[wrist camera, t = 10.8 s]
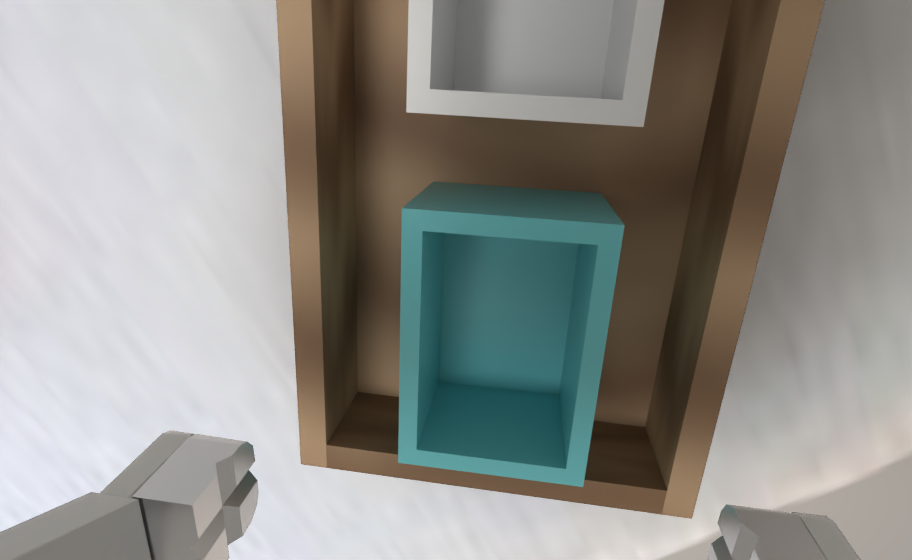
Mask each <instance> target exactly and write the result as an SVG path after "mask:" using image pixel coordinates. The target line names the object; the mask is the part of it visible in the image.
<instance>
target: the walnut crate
mask: <svg viewBox="0 0 912 560" xmlns="http://www.w3.org/2000/svg"><path fill="white" fill-rule="evenodd" d="M824 1H825V0H665V1H664V7H663V13H662V19H661V25H660V31H659V37H658V43H657V49H656V55H655V61H654V67H653V73H652V79H651V85H650V91H649V97H648V103H647V109H646V115H645V121H644V127H635V126H619V125H602V124H586V123H570V122H554V121H538V120H522V119H505V118H489V117H473V116H457V115H441V114H425V113H408V112H406V101H407V54H408V8H409V0H276V3H277V22H278V41H279V60H280V79H281V98H282V117H283V135H284V154H285V173H286V192H287V211H288V230H289V249H290V267H291V286H292V305H293V324H294V343H295V362H296V381H297V399H298V418H299V437H300V456H301V464H304V465H311V466H318V467H325V468H333V469H340V470H347V471H354V472H361V473H368V474H376V475H383V476H390V477H397V478H404V479H411V480H419V481H426V482H433V483H440V484H447V485H455V486H462V487H469V488H476V489H483V490H490V491H498V492H505V493H512V494H519V495H526V496H533V497H541V498H548V499H555V500H562V501H569V502H577V503H584V504H591V505H598V506H605V507H612V508H620V509H627V510H634V511H641V512H648V513H656V514H663V515H670V516H677V517H684V518H691V519H692V516H693V512H694V508H695V504H696V500H697V497H698V493H699V489H700V485H701V481H702V477H703V473H704V469H705V465H706V461H707V458H708V454H709V450H710V446H711V442H712V438H713V434H714V430H715V426H716V422H717V419H718V415H719V411H720V407H721V403H722V399H723V395H724V391H725V387H726V383H727V380H728V376H729V372H730V368H731V364H732V360H733V356H734V352H735V348H736V344H737V341H738V337H739V333H740V329H741V325H742V321H743V317H744V313H745V309H746V305H747V302H748V298H749V294H750V290H751V286H752V282H753V278H754V274H755V270H756V266H757V263H758V259H759V255H760V251H761V247H762V243H763V239H764V235H765V231H766V227H767V223H768V220H769V216H770V212H771V208H772V204H773V200H774V196H775V192H776V188H777V184H778V181H779V177H780V173H781V169H782V165H783V161H784V157H785V153H786V149H787V145H788V142H789V138H790V134H791V130H792V126H793V122H794V118H795V114H796V110H797V106H798V103H799V99H800V95H801V91H802V87H803V83H804V79H805V75H806V71H807V67H808V64H809V60H810V56H811V52H812V48H813V44H814V40H815V36H816V32H817V28H818V25H819V21H820V17H821V13H822V9H823V5H824ZM433 181H434V182H449V183H463V184H477V185H491V186H506V187H520V188H534V189H548V190H562V191H577V192H591V193H601V194H602V195H603V196H604V198H605V199H606V201H607V202H608V203H609V205H610V206H611V207H612V209H613V210H614V211H615V213H616V214H617V216H618V217H619V218H620V220H621V221H622V222H623V224H624V225H625V226H624V232H623V238H622V245H621V251H620V257H619V264H618V270H617V276H616V283H615V289H614V295H613V302H612V308H611V314H610V321H609V327H608V333H607V340H606V346H605V352H604V358H603V365H602V371H601V377H600V384H599V390H598V396H597V403H596V409H595V415H594V422H593V428H592V434H591V441H590V447H589V453H588V460H587V466H586V472H585V478H584V485H583V487H579V486H571V485H563V484H556V483H548V482H541V481H533V480H525V479H518V478H510V477H503V476H495V475H487V474H480V473H472V472H464V471H457V470H449V469H442V468H434V467H426V466H419V465H411V464H404V463H398V436H399V367H400V298H401V230H402V208H403V207H404V206H405V205H406V204H407V203H409V202H410V201H411V200H412V199H413V198H414V197H416V196H417V195H418V194H419V193H420V192H422V191H423V190H424V189H425V188H426V187H427V186H429V185H430V184H431V183H432V182H433Z"/></svg>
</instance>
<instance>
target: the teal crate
mask: <svg viewBox="0 0 912 560" xmlns="http://www.w3.org/2000/svg"><path fill="white" fill-rule="evenodd" d="M624 226H625V225H624V224H623V222H622V221H621V220H620V218H619V217H618V216H617V214H616V213H615V211H614V210H613V209H612V207H611V206H610V205H609V203H608V202H607V201H606V199H605V198H604V196H603V195H602V194H601V193H591V192H577V191H562V190H548V189H534V188H520V187H506V186H491V185H477V184H463V183H449V182H434V181H433V182H432V183H431V184H430V185H429V186H427V187H426V188H425V189H424V190H423V191H422V192H420V193H419V194H418V195H417V196H416V197H414V198H413V199H412V200H411V201H410V202H409V203H407V204H406V205H405V206H404V207H403V208H402V230H401V298H400V367H399V436H398V463H404V464H411V465H419V466H426V467H434V468H442V469H449V470H457V471H464V472H472V473H480V474H487V475H495V476H503V477H510V478H518V479H525V480H533V481H541V482H548V483H556V484H563V485H571V486H579V487H583V485H584V478H585V472H586V466H587V460H588V453H589V447H590V441H591V434H592V428H593V422H594V415H595V409H596V403H597V396H598V390H599V384H600V377H601V371H602V365H603V358H604V352H605V346H606V340H607V333H608V327H609V321H610V314H611V308H612V302H613V295H614V289H615V283H616V276H617V270H618V264H619V257H620V251H621V245H622V238H623V232H624Z"/></svg>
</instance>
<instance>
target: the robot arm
mask: <svg viewBox="0 0 912 560" xmlns="http://www.w3.org/2000/svg"><path fill="white" fill-rule="evenodd" d="M254 461H255V457H254V451H253V445H251V444H250V443H248V442H245V441H239V440H232V439H226V438H220V437H213V436H207V435H200V434H196V435H195V434H190V433H184V432H178V431H168V432H166V433H163V434H161V435H160V436H159V437H158V438H157V439H156V440H155V441H154V442H153V443H152V444H151V445H150V446H149V447H148V448H147V449H146V450H145V451H144V452H143V453H141V454H140V455H139V456H138V457H137V458H136V459H135V460H134V461H133V462H132V463H131V464H130V465H129V466H128V467H127V468H126V469H125V470H124V471H123V472H122V473H121V474H119V475H118V476H117V477H116V478H115V479H114V480H113V481H112V482H111V483H110V484H109V485H108V486H107V487H106V488H105V489H104V490H103V491H102V492H101V493H93V492H91V493H88V494H86V495H84V496H82V497H79V498H77V499H75V500H72V501H70V502H68V503H66V504H63V505H61V506H59V507H57V508H54V509H52V510H50V511H47V512H45V513H43V514H41V515H38V516H36V517H34V518H32V519H29V520H27V521H25V522H22V523H20V524H18V525H16V526H13V527H11V528H9V529H6V530H4V531H2V532H0V560H228V559H229V551H228V545H229V544H230V543H232V542H233V541H235V540H237V539H238V538H240V537H242V536H243V535H244V533H245V531H246V530H247V528H248V526H249V525H250V523H251V521H252V518H253V515H254V512H255V509H256V506H257V500H258V482H257V480H256V478H255V477H254V476H253V475H252V473H251V472H250V471H249V468H250V467H251V466H252V464H253V463H254ZM718 525H719V527H720V530H721V532H722V535H723V536H721V537H720V538H718V539H717V540H716V541H715V542H713V543H712V544H711V547H710V551H709V555H708V559H707V560H861V559H860V558H859V556H858V555H857V554H856V552H855V551H854V549H853V548H852V546H851V545H850V544H849V542H848V541H847V539H846V538H845V536H844V535H843V533H842V532H841V531H840V529H839V528H838V526H837V525H836V523H835V522H834V521H833V520H831V519H830V518H828V517H827V516H823V515H814V514H805V513H797V512H792V513H789V512H783V511H775V510H767V509H759V508H751V507H743V506H735V505H726V506H725V507H724V508H723V509H722V511H721V514H720V517H719V520H718Z"/></svg>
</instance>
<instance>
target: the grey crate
mask: <svg viewBox="0 0 912 560" xmlns="http://www.w3.org/2000/svg"><path fill="white" fill-rule="evenodd" d="M664 1H665V0H409V8H408V54H407V101H406V112H408V113H425V114H441V115H457V116H473V117H489V118H505V119H522V120H538V121H554V122H570V123H586V124H602V125H619V126H635V127H644V121H645V115H646V109H647V103H648V97H649V91H650V85H651V79H652V73H653V67H654V61H655V55H656V49H657V43H658V37H659V31H660V25H661V19H662V13H663V7H664Z"/></svg>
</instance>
